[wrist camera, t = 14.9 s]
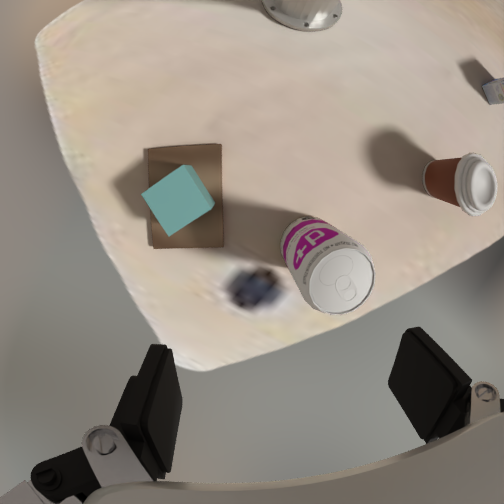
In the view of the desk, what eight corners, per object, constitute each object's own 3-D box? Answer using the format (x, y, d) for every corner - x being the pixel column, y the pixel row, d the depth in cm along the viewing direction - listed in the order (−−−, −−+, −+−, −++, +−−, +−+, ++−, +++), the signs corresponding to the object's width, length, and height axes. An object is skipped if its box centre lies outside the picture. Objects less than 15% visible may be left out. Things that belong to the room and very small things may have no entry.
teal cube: (191, 165, 35) (183, 164, 30) (215, 203, 37) (211, 209, 31) (155, 190, 36) (141, 194, 30) (178, 226, 38) (168, 236, 32)
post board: (150, 149, 35) (137, 146, 30) (221, 144, 36) (219, 140, 30) (155, 246, 39) (144, 258, 34) (223, 245, 40) (221, 256, 34)
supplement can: (268, 236, 40) (286, 274, 25) (316, 204, 39) (360, 225, 24) (297, 280, 42) (326, 334, 27) (342, 250, 41) (391, 289, 26)
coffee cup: (419, 145, 37) (469, 143, 25) (455, 161, 38) (503, 165, 26) (412, 199, 39) (460, 211, 28) (448, 210, 40) (495, 224, 28)
